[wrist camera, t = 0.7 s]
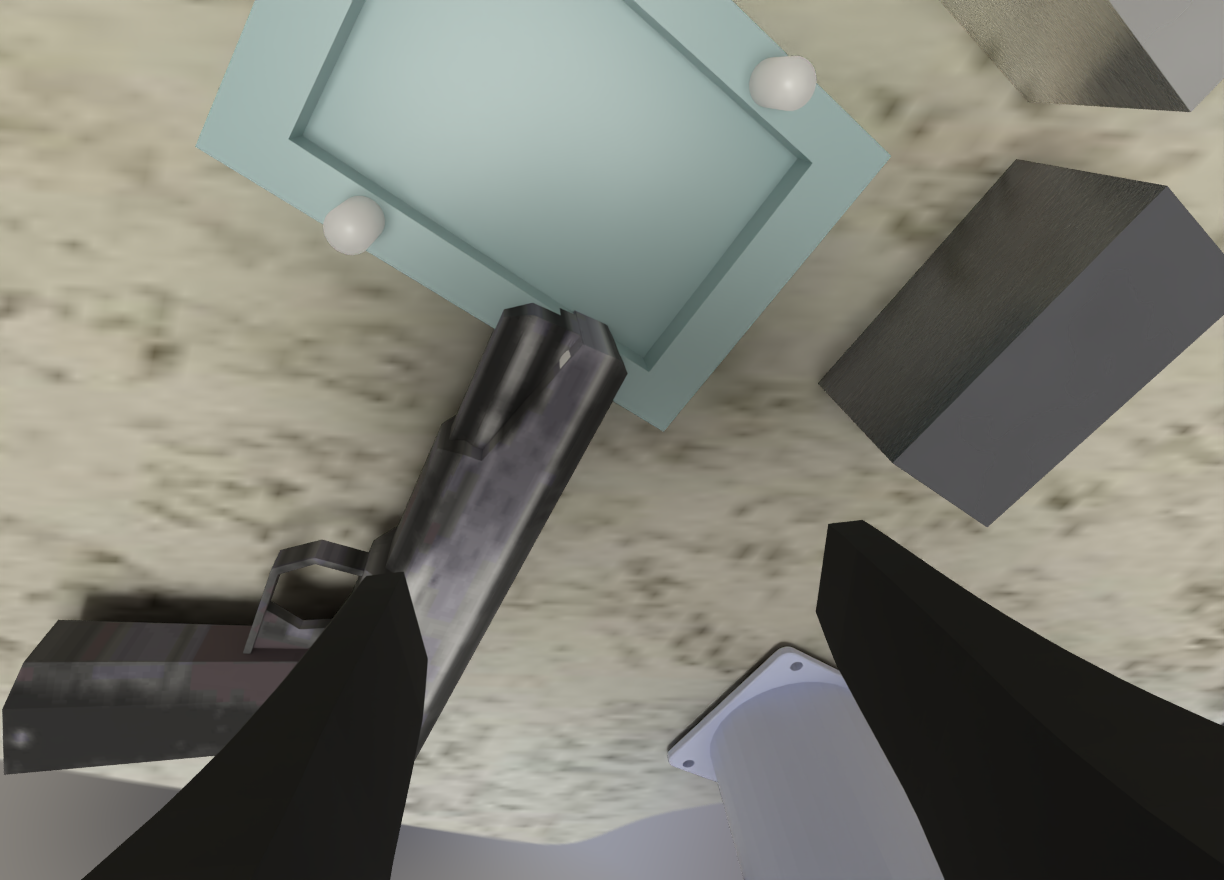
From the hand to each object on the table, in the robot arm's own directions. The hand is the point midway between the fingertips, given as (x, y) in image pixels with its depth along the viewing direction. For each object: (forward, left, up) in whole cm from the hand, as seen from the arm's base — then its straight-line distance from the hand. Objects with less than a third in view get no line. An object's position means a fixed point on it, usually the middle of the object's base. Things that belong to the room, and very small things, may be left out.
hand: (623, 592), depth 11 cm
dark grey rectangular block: (-8, -8, -10) cm, 15 cm away
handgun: (+4, +9, -9) cm, 14 cm away
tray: (+4, -5, -10) cm, 11 cm away
